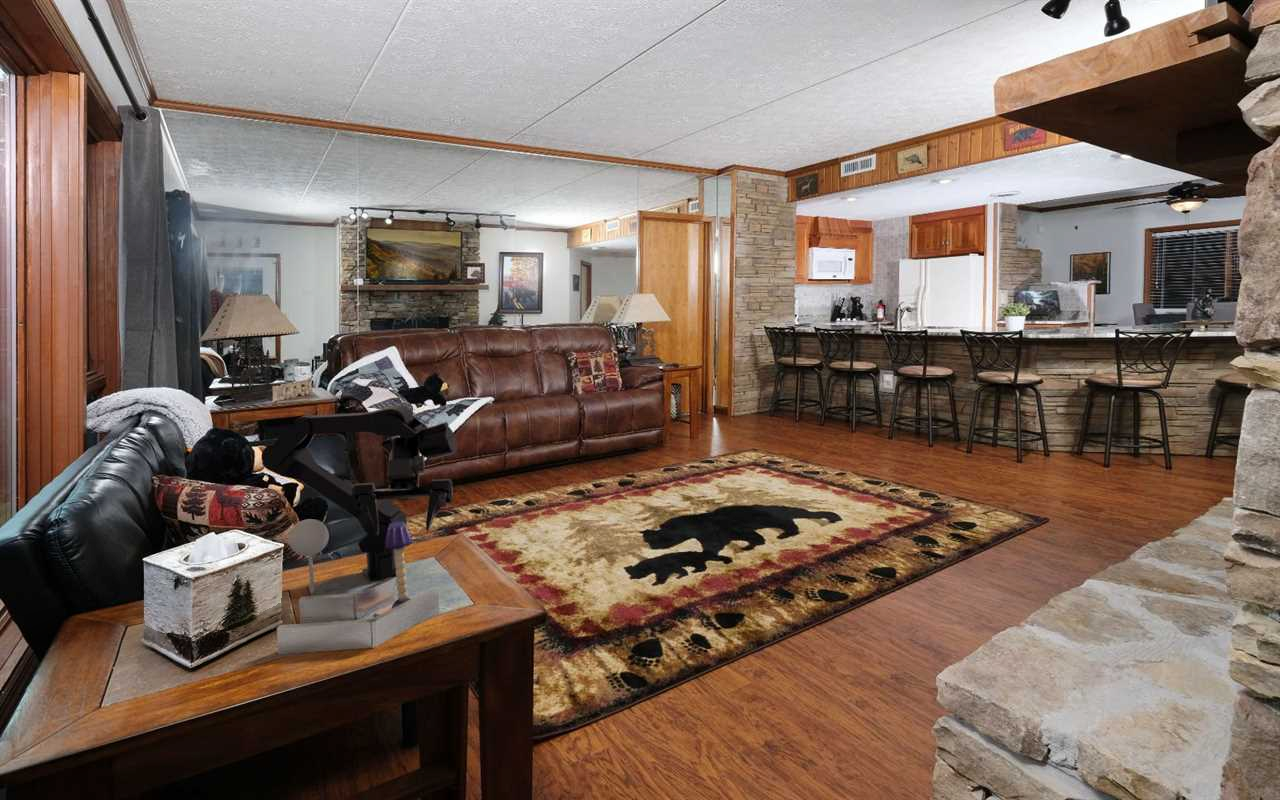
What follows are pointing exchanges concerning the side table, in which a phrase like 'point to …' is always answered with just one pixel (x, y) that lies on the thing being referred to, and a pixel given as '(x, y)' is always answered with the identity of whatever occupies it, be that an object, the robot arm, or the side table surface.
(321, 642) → the bent rails
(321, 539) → the lollipop
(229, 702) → the side table surface
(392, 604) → the end pad
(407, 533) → the toy lamp
